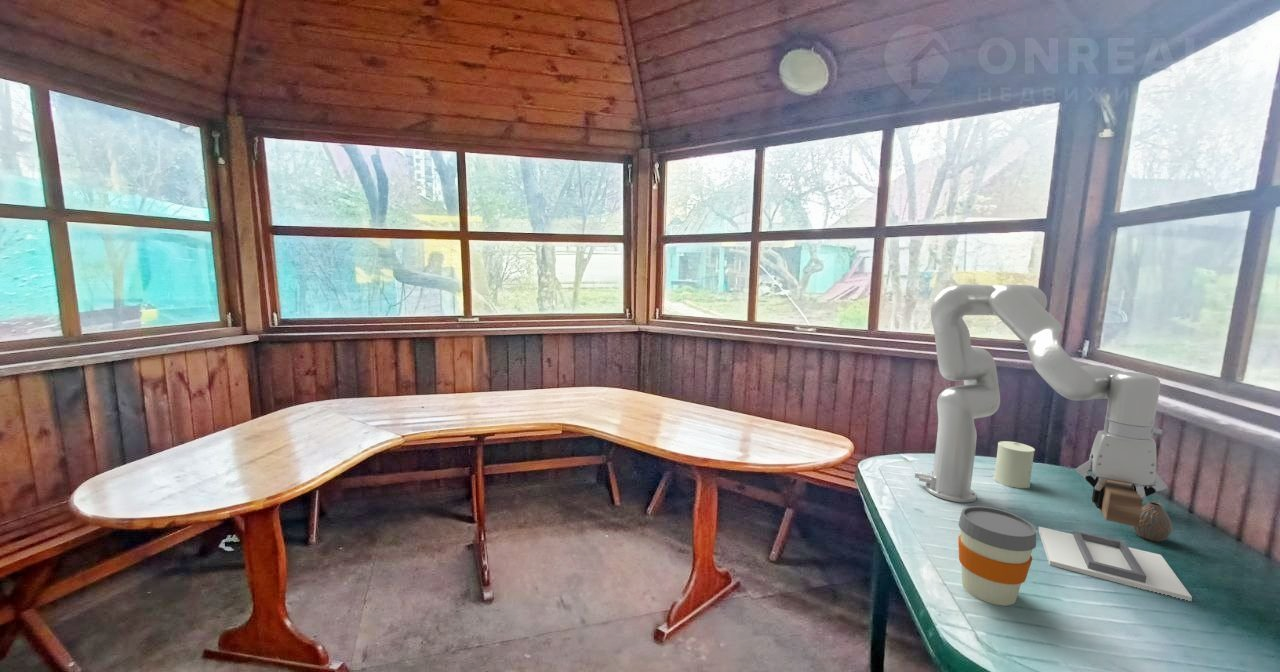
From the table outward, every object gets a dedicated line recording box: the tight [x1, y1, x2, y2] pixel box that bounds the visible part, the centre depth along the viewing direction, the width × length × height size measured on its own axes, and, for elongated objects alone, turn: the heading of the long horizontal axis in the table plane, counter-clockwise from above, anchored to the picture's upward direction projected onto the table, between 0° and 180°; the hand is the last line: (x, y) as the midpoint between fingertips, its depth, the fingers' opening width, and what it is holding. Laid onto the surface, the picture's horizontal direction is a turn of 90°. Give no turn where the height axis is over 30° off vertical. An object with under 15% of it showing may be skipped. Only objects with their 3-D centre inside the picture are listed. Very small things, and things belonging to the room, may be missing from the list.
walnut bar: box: [1099, 480, 1144, 527], centre depth 111 cm, size 12×5×6 cm, turn 148°
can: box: [992, 440, 1036, 489], centre depth 155 cm, size 9×9×12 cm
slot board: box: [1038, 526, 1193, 602], centre depth 113 cm, size 22×18×2 cm
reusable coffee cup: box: [957, 505, 1037, 607], centre depth 100 cm, size 13×13×15 cm
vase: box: [1132, 501, 1173, 543], centre depth 124 cm, size 7×7×9 cm
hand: (1114, 508), depth 111 cm, fingers closed on walnut bar, 5 cm apart
